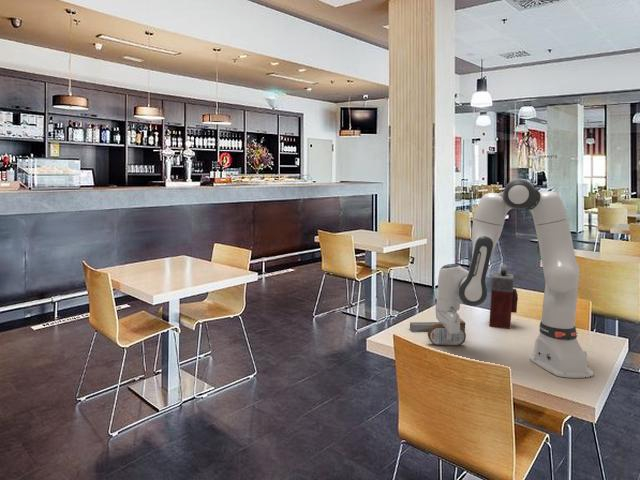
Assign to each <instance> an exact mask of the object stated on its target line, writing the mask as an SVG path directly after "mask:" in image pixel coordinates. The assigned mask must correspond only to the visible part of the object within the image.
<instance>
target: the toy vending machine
mask: <svg viewBox="0 0 640 480" xmlns="http://www.w3.org/2000/svg"><path fill="white" fill-rule="evenodd" d="M491 279H492V280H491V294H490V306H489V307H490V308H489V321H488V327H491V328H498V329H506V330H508V329H509V330H510V329H511V323H512V322H511V321H512V320H511V319H512V313H514V314H516V313H517V311H518V301H519V297H518V296H519V295H518V291H517V288H514V284H515V283H514V282H515V275H514V274H513V273H507V265H506V264H501V267H500V272H494V273H492V278H491Z"/></svg>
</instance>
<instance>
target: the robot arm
mask: <svg viewBox="0 0 640 480" xmlns="http://www.w3.org/2000/svg"><path fill="white" fill-rule="evenodd" d="M512 209H515V210H525V211H526V210H528V211H530V213H531V215H532V219H533V224H534V228H535V231H536V232H535V233H536V237H537V241H538V242H537V243H538V247H539V253H540V259H541V264H542V272H543V275H544V277H543V278H544V281H545V285H544V291H543V293H544V294H543V301H542V313H541V321H540V324H539V331H538V332H539V335H538V336H537V337H536V339H535V342H534V348H533V354H532V355H531V356H529V361H530V362H532V363H534V364H535V365H537V366H538V367H540V368H541V369H544V370H546V371H547V372H549V373H551V374H552V375H554V376H556V377H561V378H571V379H581V378H582V379H583V378H584V379H586V378H591V377H593V375H594V376H595V373H594V371H593V370H592V369H591V368H590V367H589V366H588V364H587V362H588V359H587V357H588V352H587V351H585V350H583V348H582V347H581V344H580V343H579V341H578V339H577V337H578V334H579V332H577V328H576V324H575V323H576V316H577V315H576V314H577V313H576V312H577V303H578V293H579V281H580V274H581V273H580V270H581V269H580V266H579V264H578V261H577V260H576V255H575V253H576V252H575V249H574V243H573V237H572V233H571V228H570V224H569V219H568V216H567V211H566V208H565V205H564V203H563V201H562V198H561V196H560V195H559V194H558V193H557V192H555V191H550V190H549V191H548V190H546V191H539V190H538V189H537V188H536V186H534V184H533V183H532V182H531V181H529V180H528V179H526V178H525V179H524V178H515V179H513V180H511V181H509V182H508V183H507V184H506V185H505V187H504V189H503V190H502V191H501V192H499V193H498V192H489V193H485V194H483V195H482V196H481V198H480V200H479V203H478V205H477V207H476V209H475V214H474V216H473V222H472V228H471V241H472V257H471V262H470V264H469V265H470V266H469V269H468V270H467V269H465V268H463V267H462V266H461V265H460V264H458V263H451V264H450V263H449V264H444V265H443V266H442V267H441V268H440V269H439V272H438V278H437V289H438V292H437V297H435V298H434V304H435V318H436V320H437V322H440V323H441V324H442V325H443V326H444V327H445V328H446V329H447V334H446V339H447V340H451V335H452V334H459V333H460V318H461V317H460V314H459V313H458V311H459V310H460V308H461V306H460V305H461V302H462V303H464V304H465V305H467V306H471V307H476V306H480V305H482V304H484V302H485V301H486V299H487V296H488V289H487V287H486V286H487V285H486V279H487V278H486V277H487V272H488V271H489V265H490V262H491V261H490V260H491V256H492V254H493V252H494V250H495V247H496V246H497V243H498V241H499V240H500V238H501V234H502V231H503V228H504V225H505V220H506V217H507V215H508V213H509V211H510V210H512ZM590 376H591V377H590ZM585 377H586V378H585Z"/></svg>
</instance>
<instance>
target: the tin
mask: <svg viewBox="0 0 640 480" xmlns="http://www.w3.org/2000/svg"><path fill="white" fill-rule="evenodd" d="M446 334H447V329H446V328H445V327H444V326H443V325H442V324H435V325H433V326H431V327H430V328H429V330H428V332H427V338H428V339H429V342H431V344H433V345H436V346H445V347H447V346H449V347H458V346H459V347H460V346H461V345H463V344H464V343H465V341H466V339H467V333H466V330H465V331H464V329H463V328H462V327H461V326H460V333H459V334H452V335H451V340H447V339H446Z"/></svg>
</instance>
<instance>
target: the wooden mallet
mask: <svg viewBox="0 0 640 480" xmlns="http://www.w3.org/2000/svg"><path fill="white" fill-rule="evenodd" d="M435 324H441V323H440V322H439V321H434V322H433V321H432V322H431V321H424V322H423V321H421V322H420V321H419V322H418V321H416V322H415V321H414V322H411V321H410V322H409V329H410V331H411V332H413V333H414V332H415V333H417V332H418V333H420V332H421V333H428V330H429V328H430V327H431V326H433V325H435ZM460 326H461V327H462V328H463V329H464V331H465V332H466V322H465V321H464V320H463V319H462V318H461V317H460Z"/></svg>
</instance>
